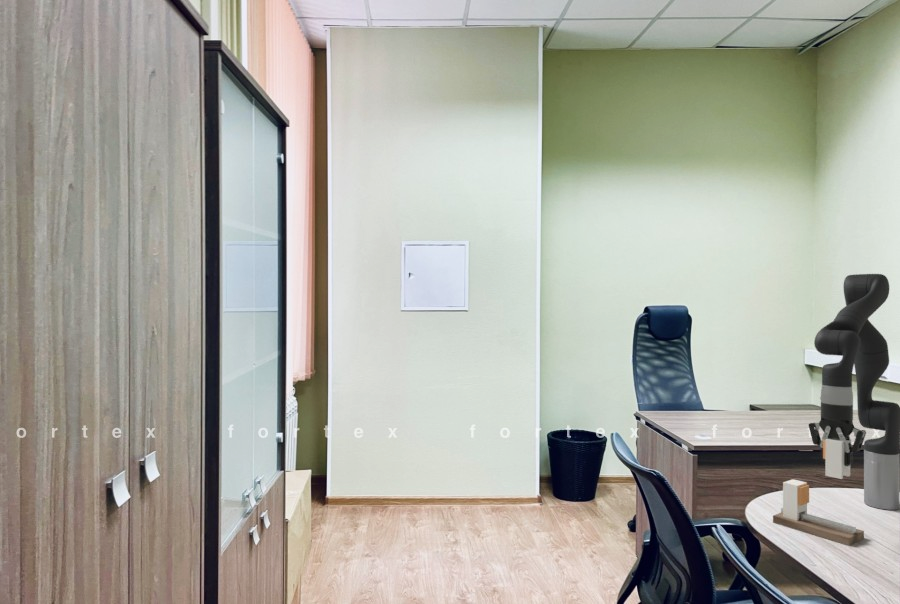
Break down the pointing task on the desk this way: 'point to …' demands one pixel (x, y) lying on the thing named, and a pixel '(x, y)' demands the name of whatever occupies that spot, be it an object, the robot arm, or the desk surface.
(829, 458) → the white block with pad
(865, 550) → the desk surface
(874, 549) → the desk surface
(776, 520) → the rail
